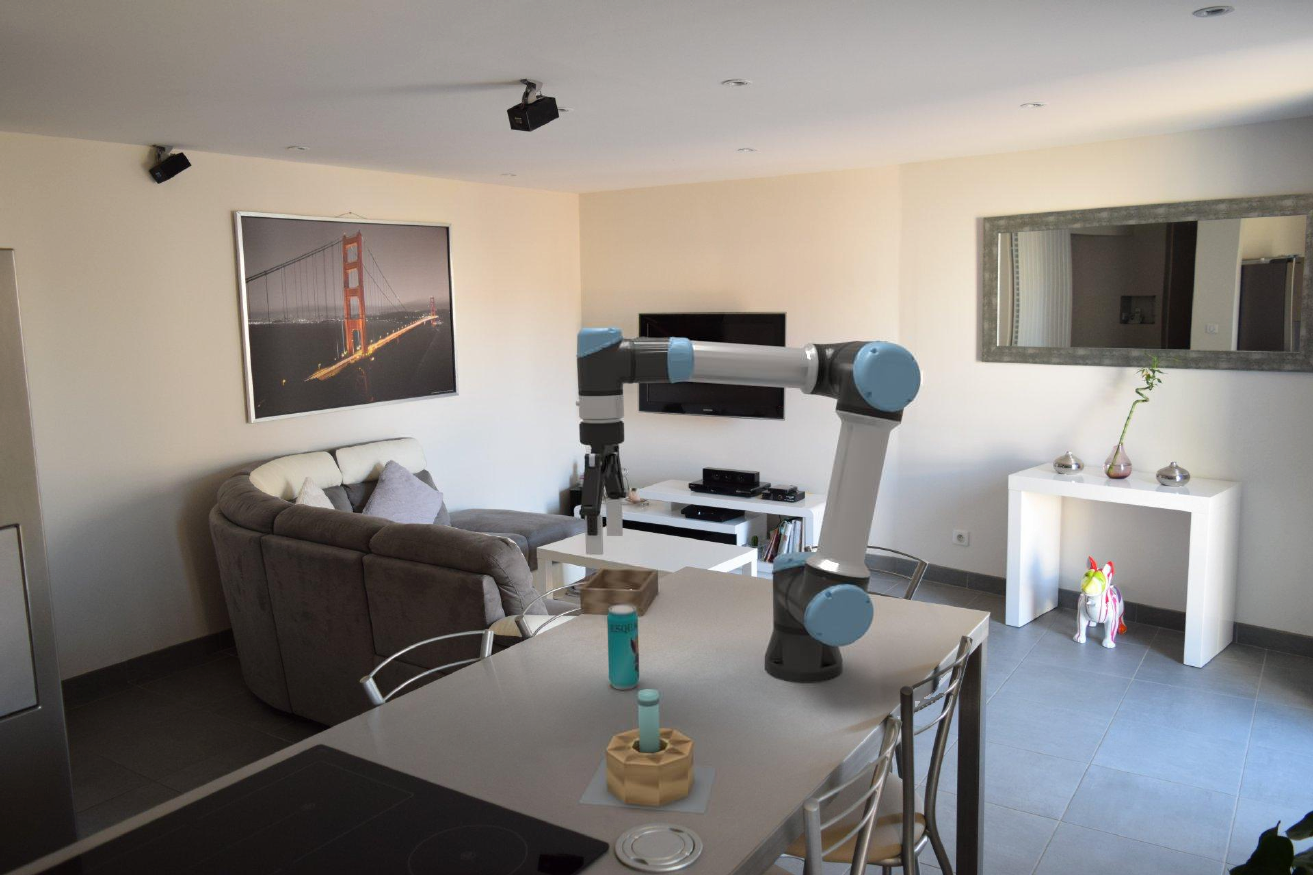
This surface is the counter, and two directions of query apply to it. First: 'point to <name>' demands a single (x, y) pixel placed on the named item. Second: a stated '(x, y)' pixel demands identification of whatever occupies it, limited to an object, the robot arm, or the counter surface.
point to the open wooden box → (619, 590)
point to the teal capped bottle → (648, 721)
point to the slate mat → (688, 804)
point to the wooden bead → (650, 768)
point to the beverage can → (623, 646)
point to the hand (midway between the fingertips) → (605, 544)
